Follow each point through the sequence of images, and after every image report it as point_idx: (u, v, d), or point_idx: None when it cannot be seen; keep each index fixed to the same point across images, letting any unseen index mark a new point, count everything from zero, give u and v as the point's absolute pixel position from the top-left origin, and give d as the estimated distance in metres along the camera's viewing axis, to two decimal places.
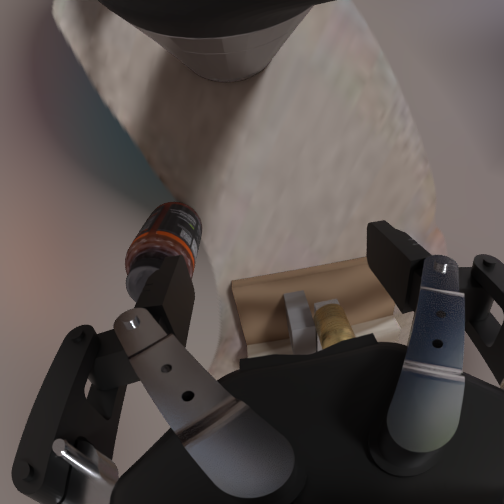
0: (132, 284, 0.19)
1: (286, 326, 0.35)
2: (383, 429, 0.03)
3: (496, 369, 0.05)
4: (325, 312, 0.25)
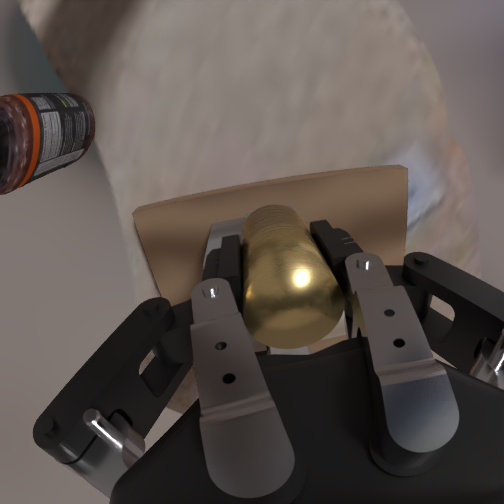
0: None
1: None
2: (383, 429, 0.03)
3: (457, 361, 0.06)
4: (258, 215, 0.12)
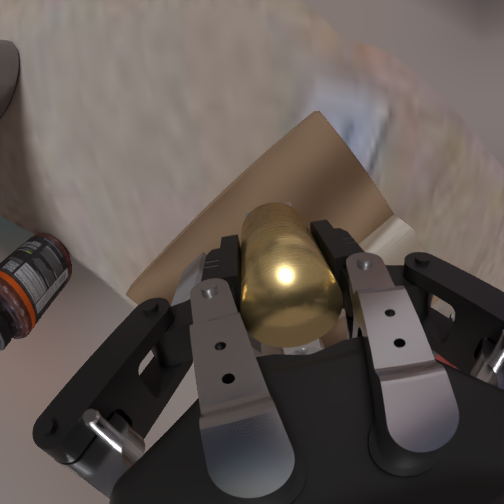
0: None
1: None
2: (383, 429, 0.03)
3: (457, 361, 0.06)
4: (255, 215, 0.12)
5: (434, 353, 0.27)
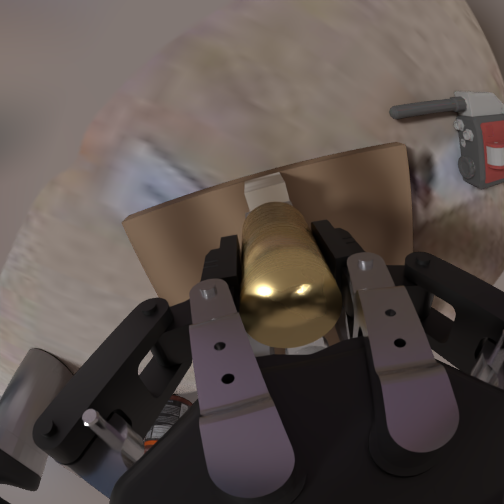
0: None
1: None
2: (383, 429, 0.03)
3: (458, 361, 0.06)
4: (255, 215, 0.12)
5: (480, 182, 0.17)
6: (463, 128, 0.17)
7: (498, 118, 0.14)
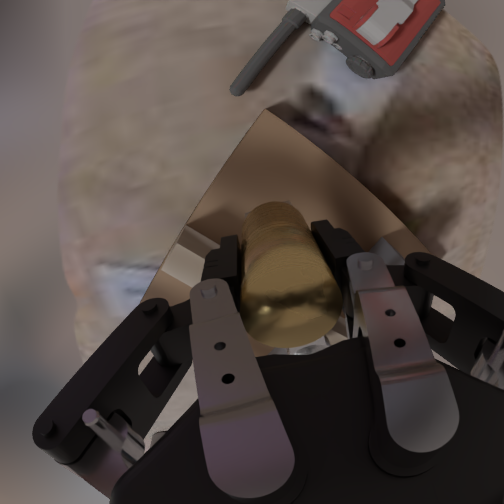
0: None
1: None
2: (383, 429, 0.03)
3: (457, 361, 0.06)
4: (254, 215, 0.12)
5: (383, 70, 0.14)
6: (322, 33, 0.14)
7: None
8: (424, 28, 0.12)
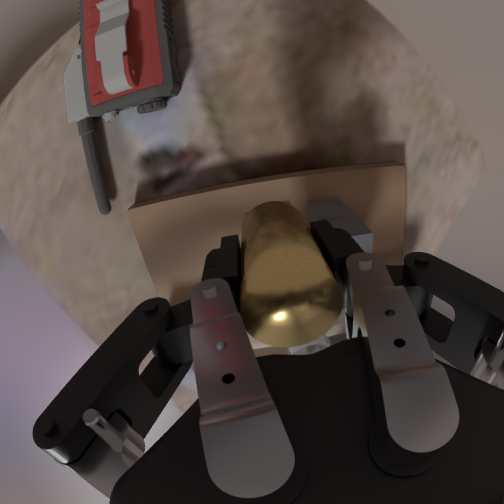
0: None
1: None
2: (383, 429, 0.03)
3: (457, 361, 0.06)
4: (254, 215, 0.12)
5: (160, 94, 0.15)
6: None
7: (84, 68, 0.13)
8: (159, 13, 0.12)
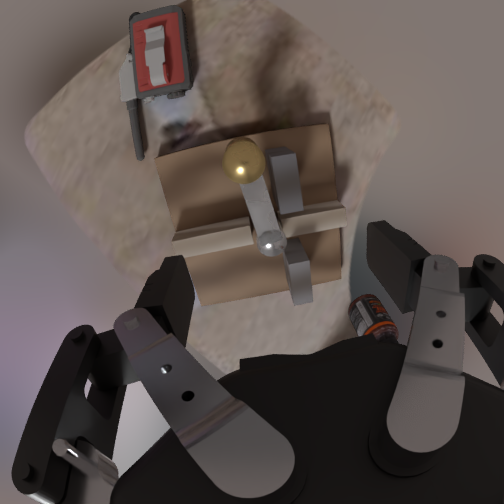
0: None
1: (300, 241, 0.37)
2: (383, 429, 0.03)
3: (496, 369, 0.05)
4: (230, 141, 0.24)
5: (182, 87, 0.26)
6: None
7: (134, 68, 0.25)
8: (182, 40, 0.24)
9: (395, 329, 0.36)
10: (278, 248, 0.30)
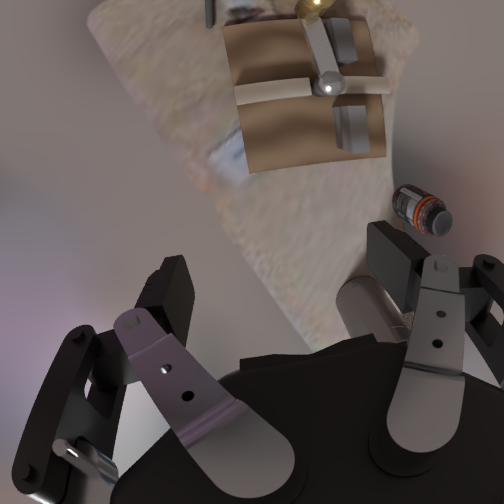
0: (448, 227, 0.32)
1: None
2: (383, 429, 0.03)
3: (496, 369, 0.05)
4: None
5: None
6: None
7: None
8: None
9: None
10: (338, 88, 0.28)
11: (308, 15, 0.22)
